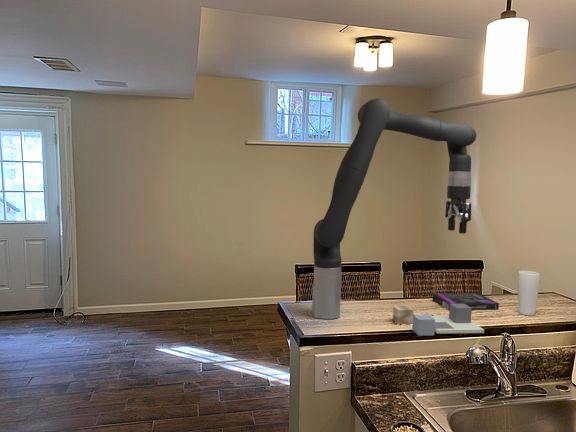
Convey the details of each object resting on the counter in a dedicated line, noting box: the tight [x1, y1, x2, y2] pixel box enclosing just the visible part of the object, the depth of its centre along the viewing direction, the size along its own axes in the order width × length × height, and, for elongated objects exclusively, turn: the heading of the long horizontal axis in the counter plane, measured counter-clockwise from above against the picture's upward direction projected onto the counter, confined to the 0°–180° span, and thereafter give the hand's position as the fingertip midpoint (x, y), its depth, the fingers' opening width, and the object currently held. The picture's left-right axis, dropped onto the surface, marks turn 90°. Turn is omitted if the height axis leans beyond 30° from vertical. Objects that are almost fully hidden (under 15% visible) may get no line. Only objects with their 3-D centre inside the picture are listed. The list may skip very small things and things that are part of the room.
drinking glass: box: [517, 270, 541, 316], centre depth 158 cm, size 7×7×15 cm
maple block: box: [392, 305, 414, 326], centre depth 147 cm, size 5×5×5 cm
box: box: [432, 292, 500, 311], centre depth 169 cm, size 14×4×20 cm
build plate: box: [430, 304, 485, 334], centre depth 144 cm, size 15×14×6 cm
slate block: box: [411, 314, 435, 337], centre depth 137 cm, size 5×5×5 cm
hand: (456, 231), depth 154 cm, fingers open, 8 cm apart
